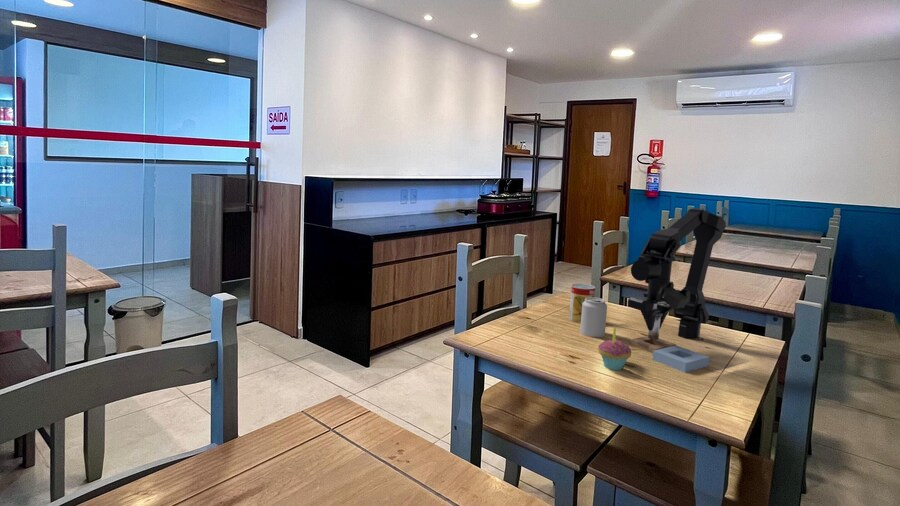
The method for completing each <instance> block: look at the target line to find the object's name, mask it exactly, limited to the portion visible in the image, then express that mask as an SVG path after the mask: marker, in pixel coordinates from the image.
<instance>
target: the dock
mask: <svg viewBox="0 0 900 506" xmlns="http://www.w3.org/2000/svg"><path fill="white" fill-rule="evenodd" d="M652 361H655V362H657V363H659V364H662V365H665V366H667V367H670V368H672V369H675V370H677V371H680V372H682V373H688V372H692V371H696V370H699V369H702V368H706V367H709V363H710V356H708V355H704V354H702V353H699V352H697V351H694V350H690V349H689V348H688V349H687V348H686V347H685V348H684V347H681V346H679V345H677V344H676V346H672V347H668V348H663V349H659V350H654V351H653V353H652Z"/></svg>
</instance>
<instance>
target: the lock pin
mask: <svg viewBox="0 0 900 506" xmlns="http://www.w3.org/2000/svg"><path fill="white" fill-rule="evenodd" d="M661 316H663V313H662V312H660V311H659V312H658V313H657V314H656V315H655V321H654V326H653V330H652V331H650V330H648V329H647V331H648V333H647V336H648V338H649V339H653V340H658V339H660V330H661V328H660V322H661Z"/></svg>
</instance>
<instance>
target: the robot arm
mask: <svg viewBox="0 0 900 506" xmlns="http://www.w3.org/2000/svg"><path fill="white" fill-rule="evenodd" d="M726 223H727V222H726V220H724V217H723V216H722V215H716V214H714V213H711V212H709V211H708V210H706V209H704V208H703V209H702V208H693V207H692V208H689V209H688V210H687V212H686V213H685V214H684V215H683V216H682V217H680V218H679V219H678V220H677V221H676V222H674V223H673V224H671V225H670V226H669V227H668V228H664V229H659V230H656V231H655V232H653V233H652V234H651V235H650V236H649V237H648V240H647V241H646V243H645V246H644V247H643V249H642V252H641V253H640V255H639V256H638V259H637V260H636V261H634V262H633V263H632V265H631V266H630V274H631V276H632V278H633V279H634V280H636V281H638V282H643V281H645V282H644V283H645V284H647V292H644V293H643V296H639V295H638V296H631V297H630V298H628V299H627V307H628V308H632V309H634V310H638V311H640V313H641V315H642V318H643V319H644V322H645V324H646V327H647V331H648V330H650V331H652V330H653V326H654V321H655V315H656V314H657V313H658V312H659V311H660V312H662V313H663V316H661V322H660V329H661V327H662V325H663V323H664V321H665V320H666V317H667V315H668V314H669V312H671V311H672V310H673V314H674V315H673V316H674V318H677V319H680V320H679V324H678V331H677V333H678V334H677V336H678V337H679V338H683V339H685V340H686V339H687V340H688V339H692V340H693V339H694V340H695V339H698V340H701V341H704V339H705V338H704V337H701V336H700V334H701V325H702V324H704V325H706V324H707V322H708V321H709V319H710V318H709V317H710V315H709V313H708V310H707V308H706V306H705V304H706V298H705V295H704V292H703V288H704V283H705V280H706V276H707V271H708V267H709V264H710V260H711V256H712V252H713V248H714V245H715V244H716V243H717V242H718V241H719V240H720V239H721V238H722V236H723V233H724V232H725V230H726V226H727V225H726ZM691 233H692V234H693V235H694V238H695V247H694V249H693V254H692V257H691V261H690V266H689V268H688V269H689V270H688V273H687V277H686V282H685V285H684V287H683V288H682V289H681V290H680V289H676V288H674V286H675V284H674V281H671V277H672V267H673V266H672V265H673V262H676V261H677V259H676V257H674V255H675V254H676V253H677V252H678V250H679V249H680V248H681V241H683V240H684V239H685V238H686V237H687V236H688V235H689V234H691Z"/></svg>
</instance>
